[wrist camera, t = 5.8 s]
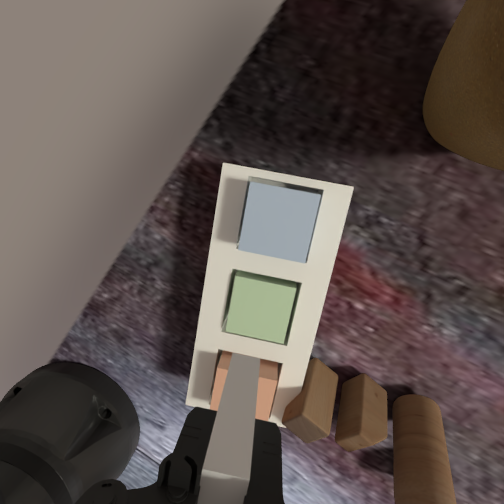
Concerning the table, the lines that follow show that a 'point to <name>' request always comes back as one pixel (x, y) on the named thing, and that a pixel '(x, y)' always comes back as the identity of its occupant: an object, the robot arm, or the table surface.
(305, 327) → the key console
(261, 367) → the terracotta key
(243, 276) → the sage key
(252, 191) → the blue key
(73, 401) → the robot arm
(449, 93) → the plant pot
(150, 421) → the table surface
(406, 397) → the wooden block set
